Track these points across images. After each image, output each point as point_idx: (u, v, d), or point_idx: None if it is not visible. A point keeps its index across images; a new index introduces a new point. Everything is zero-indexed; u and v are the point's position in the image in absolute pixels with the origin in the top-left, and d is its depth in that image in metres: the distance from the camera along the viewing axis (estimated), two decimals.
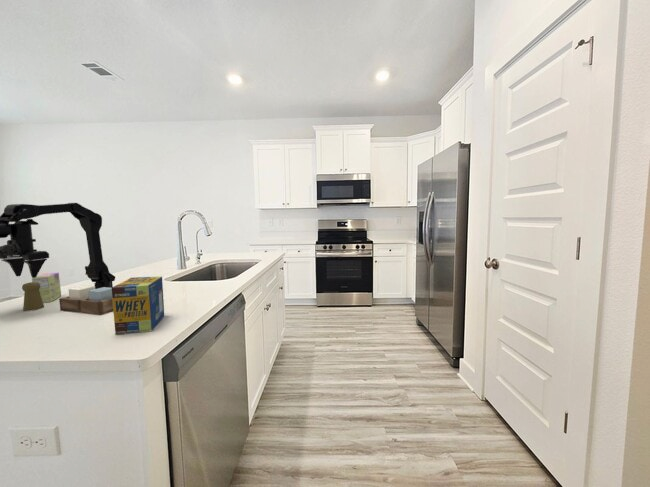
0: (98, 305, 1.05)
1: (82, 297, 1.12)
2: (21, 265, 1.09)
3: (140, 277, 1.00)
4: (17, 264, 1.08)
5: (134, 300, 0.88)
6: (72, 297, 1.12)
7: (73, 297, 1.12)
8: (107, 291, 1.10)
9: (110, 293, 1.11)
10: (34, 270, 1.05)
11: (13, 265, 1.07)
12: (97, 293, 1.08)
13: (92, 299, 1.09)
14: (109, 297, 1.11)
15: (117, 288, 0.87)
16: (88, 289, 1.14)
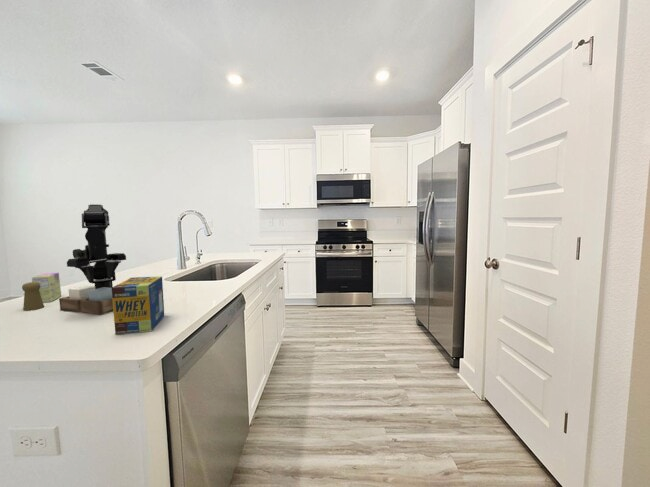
0: (98, 305, 1.05)
1: (82, 297, 1.12)
2: (111, 269, 1.13)
3: (140, 277, 1.00)
4: (109, 267, 1.14)
5: (134, 300, 0.88)
6: (72, 297, 1.12)
7: (73, 297, 1.12)
8: (107, 291, 1.10)
9: (110, 293, 1.11)
10: (86, 276, 1.06)
11: (107, 268, 1.14)
12: (97, 293, 1.08)
13: (92, 299, 1.09)
14: (109, 297, 1.11)
15: (117, 288, 0.87)
16: (88, 289, 1.14)
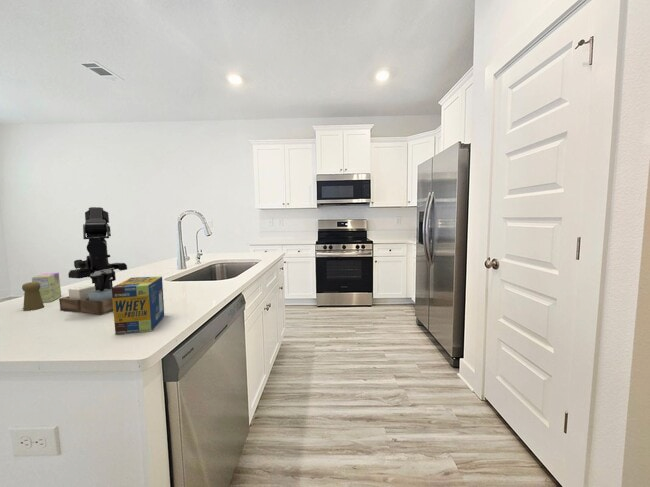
0: (98, 305, 1.05)
1: (82, 297, 1.12)
2: (104, 281, 1.11)
3: (140, 277, 1.00)
4: None
5: (134, 300, 0.88)
6: (72, 297, 1.12)
7: (73, 297, 1.12)
8: (107, 293, 1.10)
9: (110, 295, 1.12)
10: (97, 284, 1.10)
11: None
12: (97, 295, 1.08)
13: None
14: None
15: (117, 288, 0.87)
16: (88, 289, 1.14)
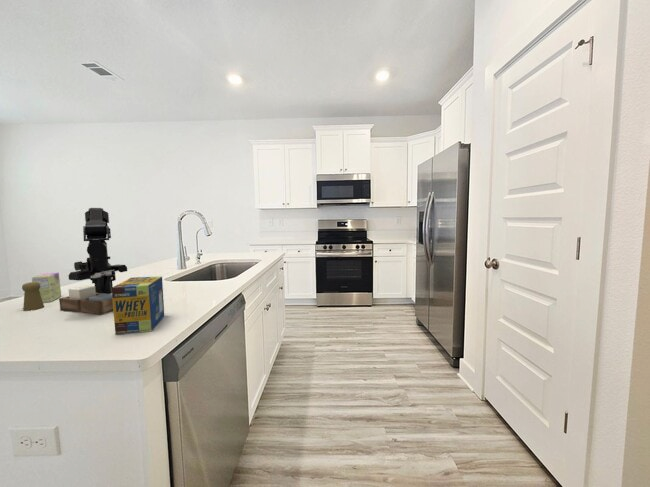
0: (98, 305, 1.05)
1: (82, 297, 1.12)
2: (104, 283, 1.11)
3: (140, 277, 1.00)
4: None
5: (134, 300, 0.88)
6: (72, 297, 1.12)
7: (73, 297, 1.12)
8: (108, 298, 1.11)
9: None
10: (97, 286, 1.10)
11: None
12: (98, 300, 1.08)
13: None
14: None
15: (117, 288, 0.87)
16: (88, 289, 1.14)
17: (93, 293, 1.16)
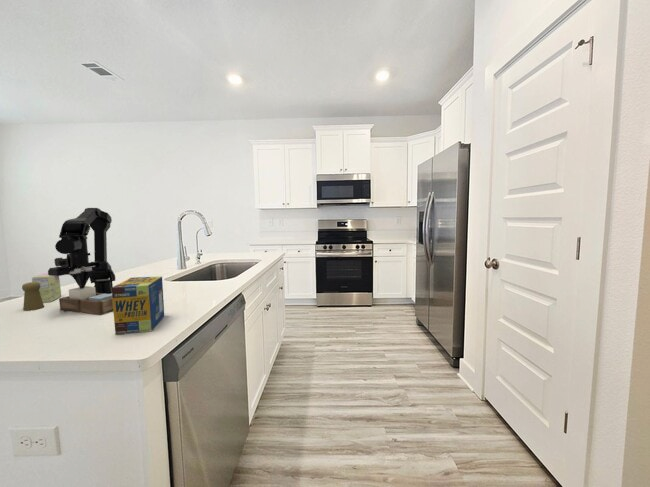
0: (98, 305, 1.05)
1: (82, 298, 1.12)
2: (84, 278, 1.14)
3: (140, 277, 1.00)
4: None
5: (134, 300, 0.88)
6: (72, 298, 1.12)
7: (73, 298, 1.12)
8: (108, 298, 1.11)
9: None
10: (77, 282, 1.13)
11: None
12: (98, 300, 1.08)
13: None
14: None
15: (117, 288, 0.87)
16: (88, 290, 1.14)
17: (93, 294, 1.16)
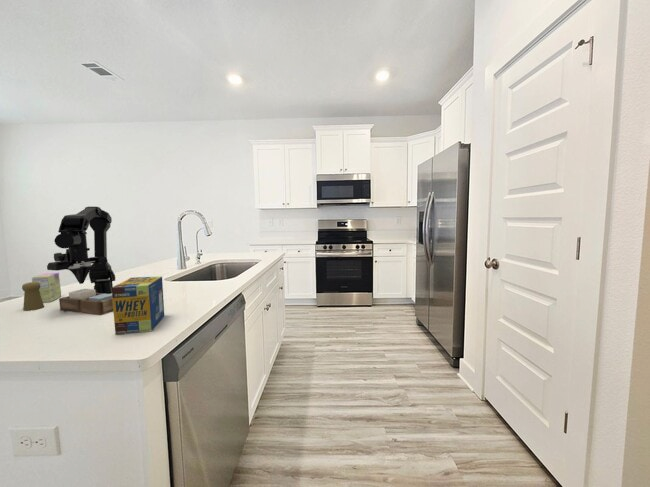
0: (98, 305, 1.05)
1: None
2: (83, 273, 1.13)
3: (140, 277, 1.00)
4: None
5: (134, 300, 0.88)
6: None
7: None
8: (108, 298, 1.11)
9: None
10: (77, 277, 1.12)
11: None
12: (98, 300, 1.08)
13: None
14: None
15: (117, 288, 0.87)
16: (88, 292, 1.14)
17: None
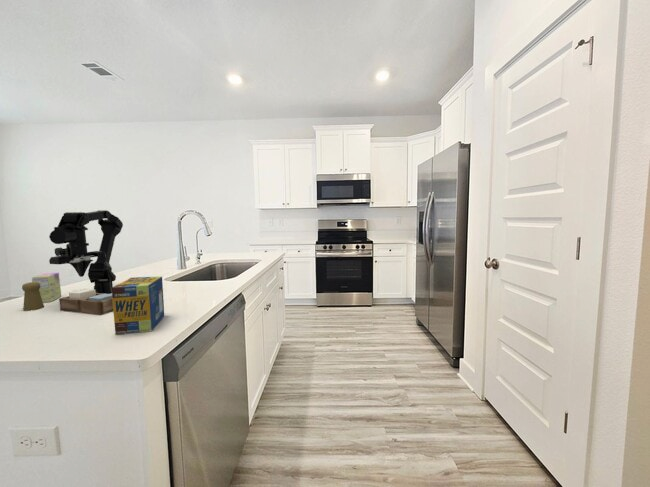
0: (98, 305, 1.05)
1: None
2: (83, 267, 1.20)
3: (140, 277, 1.00)
4: None
5: (134, 300, 0.88)
6: None
7: None
8: (108, 298, 1.11)
9: None
10: (77, 270, 1.19)
11: None
12: (98, 300, 1.08)
13: None
14: None
15: (117, 288, 0.87)
16: (88, 292, 1.14)
17: None
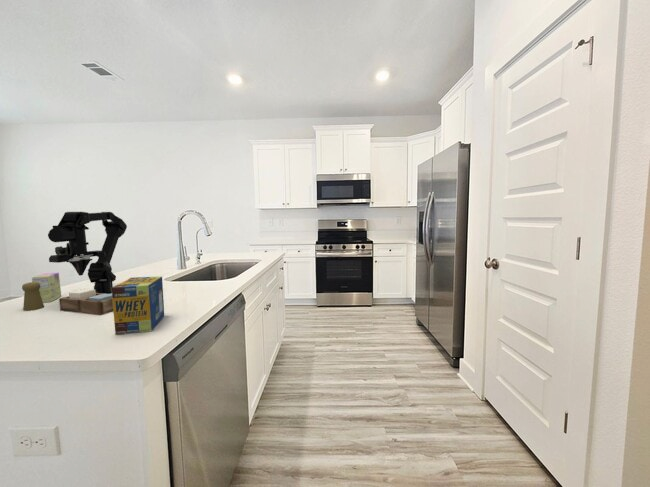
0: (98, 305, 1.05)
1: None
2: (83, 266, 1.22)
3: (140, 277, 1.00)
4: None
5: (134, 300, 0.88)
6: None
7: None
8: (108, 298, 1.11)
9: None
10: (76, 269, 1.21)
11: None
12: (98, 300, 1.08)
13: None
14: None
15: (117, 288, 0.87)
16: (88, 292, 1.14)
17: None
